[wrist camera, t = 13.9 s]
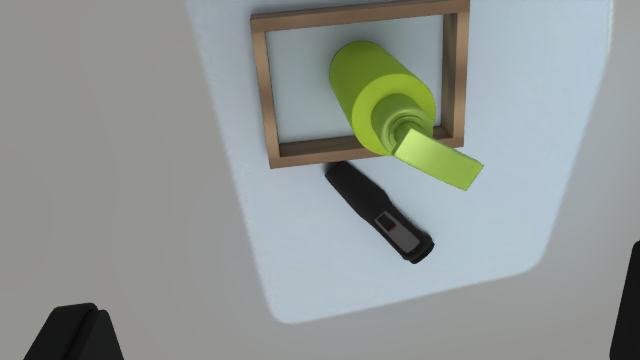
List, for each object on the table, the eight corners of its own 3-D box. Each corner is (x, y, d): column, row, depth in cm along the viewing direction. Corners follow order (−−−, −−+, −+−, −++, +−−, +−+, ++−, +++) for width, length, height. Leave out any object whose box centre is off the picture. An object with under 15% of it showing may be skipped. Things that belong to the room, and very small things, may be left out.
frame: (251, 15, 43) (250, 20, 40) (455, -5, 44) (470, -2, 41) (269, 154, 48) (270, 168, 45) (450, 134, 49) (463, 146, 46)
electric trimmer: (342, 144, 49) (346, 156, 46) (435, 239, 55) (444, 255, 52) (314, 169, 50) (316, 182, 47) (408, 260, 55) (416, 277, 53)
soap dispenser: (380, 119, 48) (450, 221, 30) (317, 87, 46) (352, 175, 28) (413, 65, 46) (509, 139, 28) (349, 28, 44) (408, 83, 26)
